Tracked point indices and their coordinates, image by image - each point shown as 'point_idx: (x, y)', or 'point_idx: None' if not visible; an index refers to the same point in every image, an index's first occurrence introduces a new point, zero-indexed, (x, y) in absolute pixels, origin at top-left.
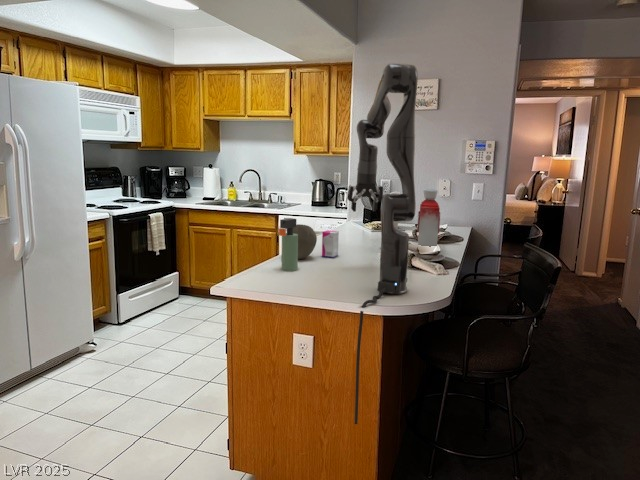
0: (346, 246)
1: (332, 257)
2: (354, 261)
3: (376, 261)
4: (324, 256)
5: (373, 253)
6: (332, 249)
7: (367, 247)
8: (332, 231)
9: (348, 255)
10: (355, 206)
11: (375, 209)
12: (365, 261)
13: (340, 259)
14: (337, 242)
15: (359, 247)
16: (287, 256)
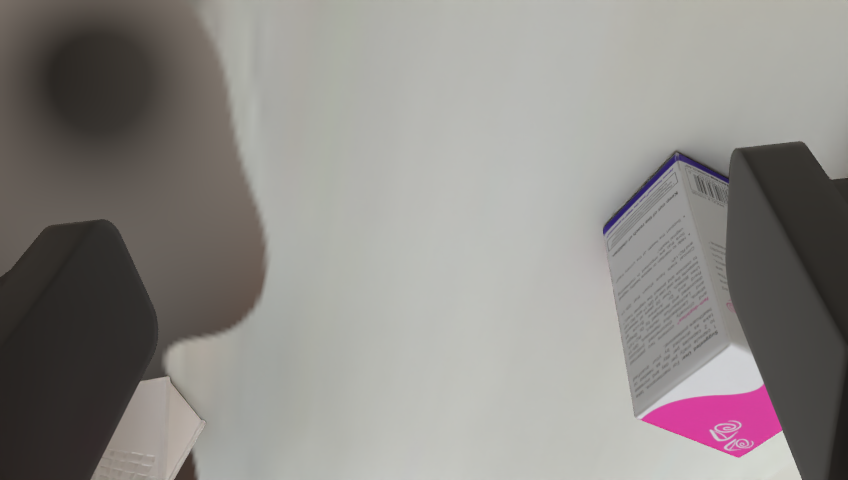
0: (458, 469)
1: (684, 157)
2: (495, 30)
3: (266, 28)
4: None
5: (276, 299)
6: (701, 210)
7: (309, 444)
8: (714, 407)
9: (502, 246)
10: (819, 239)
11: (38, 247)
12: (380, 29)
13: (617, 111)
14: (636, 307)
15: (368, 446)
16: None
